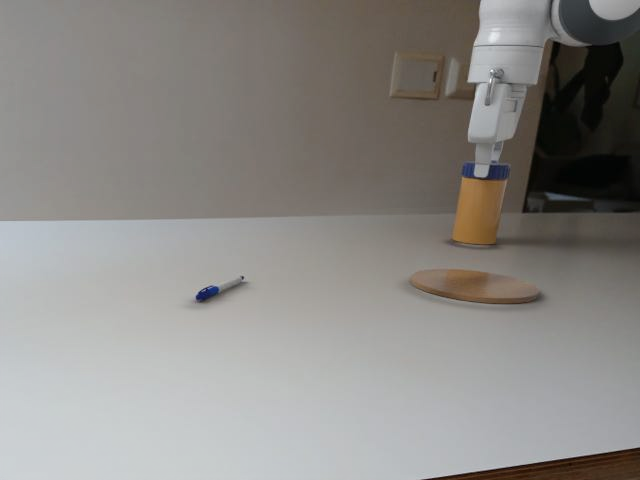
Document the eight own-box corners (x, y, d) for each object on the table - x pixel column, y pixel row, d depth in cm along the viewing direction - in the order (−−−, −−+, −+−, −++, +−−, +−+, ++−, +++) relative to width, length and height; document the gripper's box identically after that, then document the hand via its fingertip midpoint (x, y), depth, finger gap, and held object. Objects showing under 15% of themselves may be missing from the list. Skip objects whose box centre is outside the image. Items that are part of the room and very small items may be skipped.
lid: (514, 177, 106) (516, 163, 105) (500, 180, 101) (503, 166, 101) (470, 173, 110) (472, 160, 109) (455, 175, 105) (457, 162, 104)
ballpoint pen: (202, 302, 71) (202, 292, 71) (194, 300, 72) (194, 290, 71) (244, 281, 80) (245, 272, 80) (237, 280, 80) (237, 271, 80)
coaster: (552, 288, 82) (553, 283, 82) (517, 311, 72) (518, 305, 72) (436, 268, 90) (437, 263, 89) (391, 286, 80) (392, 281, 80)
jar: (501, 241, 109) (515, 167, 105) (487, 246, 105) (501, 169, 101) (460, 235, 113) (472, 163, 109) (445, 240, 108) (457, 165, 105)
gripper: (520, 67, 91) (499, 182, 95) (535, 74, 107) (516, 171, 112) (466, 67, 94) (448, 178, 98) (489, 73, 110) (472, 168, 115)
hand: (484, 174), depth 105 cm, fingers closed on lid, 6 cm apart
